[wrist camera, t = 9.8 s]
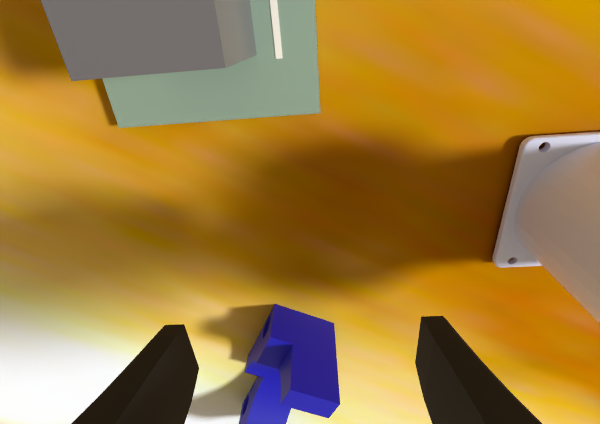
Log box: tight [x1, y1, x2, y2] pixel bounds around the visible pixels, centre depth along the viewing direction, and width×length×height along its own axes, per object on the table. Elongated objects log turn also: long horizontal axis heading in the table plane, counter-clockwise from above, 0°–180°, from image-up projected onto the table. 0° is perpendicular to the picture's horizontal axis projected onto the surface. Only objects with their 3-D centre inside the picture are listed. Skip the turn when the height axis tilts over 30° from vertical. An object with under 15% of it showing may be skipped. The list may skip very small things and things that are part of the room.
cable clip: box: [239, 304, 340, 424], centre depth 23 cm, size 12×4×6 cm, turn 157°
